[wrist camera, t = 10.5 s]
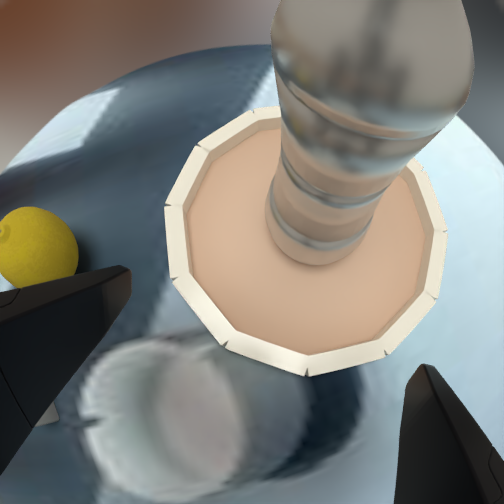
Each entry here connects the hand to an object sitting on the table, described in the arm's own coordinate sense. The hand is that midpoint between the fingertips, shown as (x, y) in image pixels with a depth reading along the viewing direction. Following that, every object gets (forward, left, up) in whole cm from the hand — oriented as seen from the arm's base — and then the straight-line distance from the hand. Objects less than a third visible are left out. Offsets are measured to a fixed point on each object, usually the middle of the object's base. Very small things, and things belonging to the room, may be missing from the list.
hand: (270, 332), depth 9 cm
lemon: (-1, +16, -12) cm, 20 cm away
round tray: (+8, 0, -12) cm, 14 cm away
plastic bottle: (+8, 0, -11) cm, 14 cm away
